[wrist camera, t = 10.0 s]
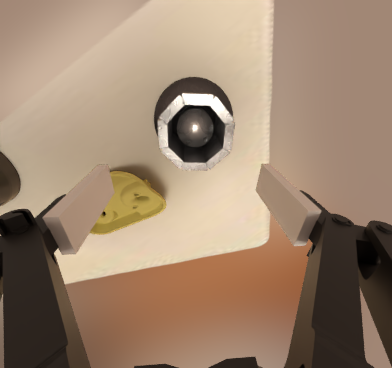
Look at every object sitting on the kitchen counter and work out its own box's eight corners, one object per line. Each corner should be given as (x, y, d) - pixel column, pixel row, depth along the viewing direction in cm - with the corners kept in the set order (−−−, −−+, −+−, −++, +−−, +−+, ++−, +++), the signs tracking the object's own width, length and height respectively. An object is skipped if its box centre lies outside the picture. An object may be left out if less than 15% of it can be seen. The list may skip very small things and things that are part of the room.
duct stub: (145, 144, 33) (139, 154, 28) (168, 61, 27) (165, 55, 22) (212, 168, 36) (216, 180, 32) (246, 98, 30) (258, 101, 25)
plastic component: (101, 236, 41) (57, 223, 33) (105, 208, 45) (67, 191, 37) (175, 207, 36) (144, 185, 28) (171, 179, 40) (144, 153, 33)
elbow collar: (163, 90, 29) (155, 92, 21) (224, 93, 29) (238, 95, 21) (166, 149, 33) (160, 169, 26) (218, 151, 34) (228, 170, 26)
